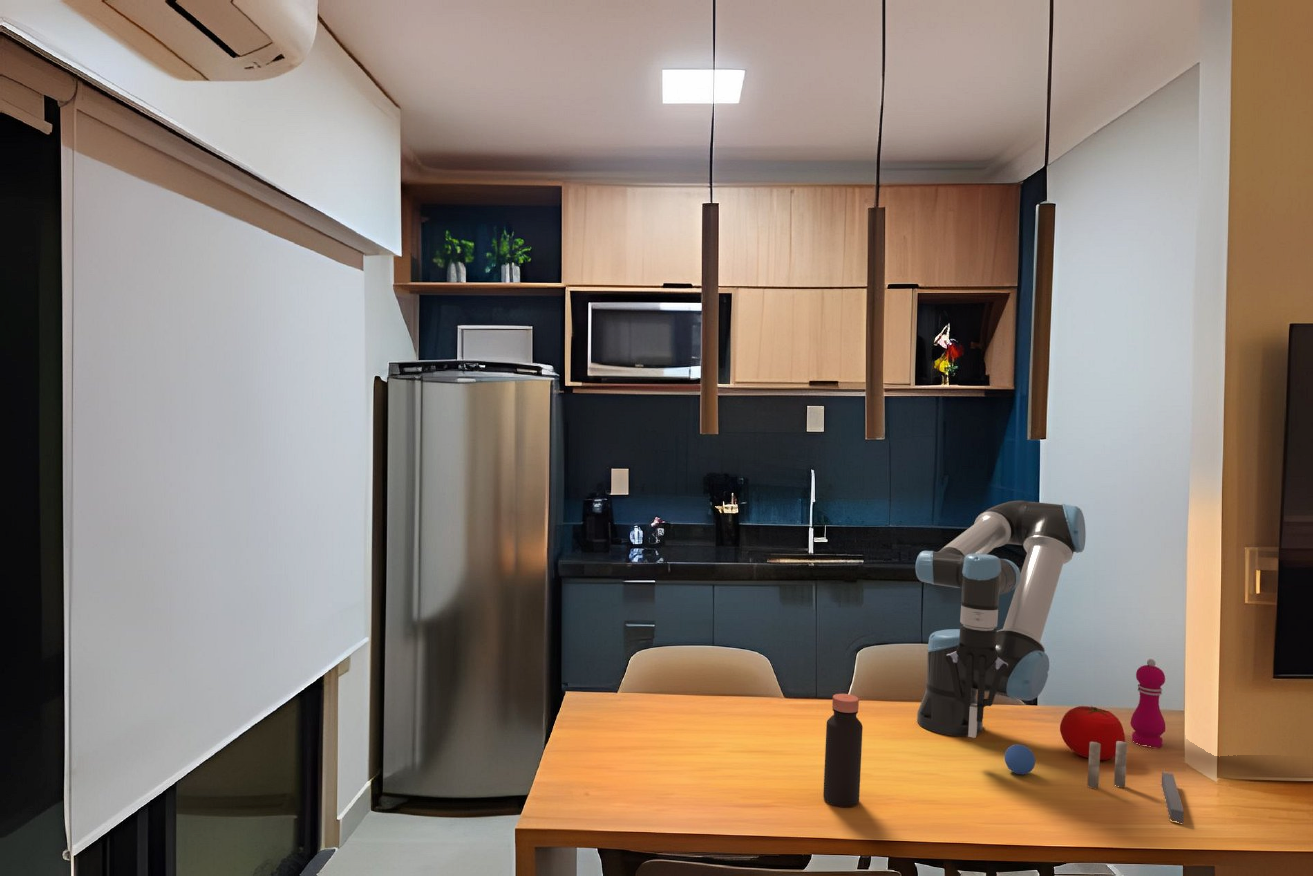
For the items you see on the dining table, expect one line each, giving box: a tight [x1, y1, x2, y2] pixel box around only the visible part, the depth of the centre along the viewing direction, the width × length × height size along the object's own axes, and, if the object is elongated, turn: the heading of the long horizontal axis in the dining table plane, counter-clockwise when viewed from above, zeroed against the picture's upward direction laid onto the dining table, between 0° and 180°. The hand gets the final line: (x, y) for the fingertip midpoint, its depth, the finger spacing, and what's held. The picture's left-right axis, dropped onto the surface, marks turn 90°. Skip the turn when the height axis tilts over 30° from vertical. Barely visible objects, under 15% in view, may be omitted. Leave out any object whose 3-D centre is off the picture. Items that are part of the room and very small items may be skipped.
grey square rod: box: [1160, 771, 1185, 824], centre depth 174 cm, size 2×20×2 cm, turn 154°
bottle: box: [822, 693, 864, 808], centre depth 169 cm, size 7×7×20 cm
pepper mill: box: [1130, 658, 1166, 748], centre depth 207 cm, size 7×7×20 cm
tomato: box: [1059, 705, 1126, 761], centre depth 198 cm, size 12×13×11 cm
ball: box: [1004, 744, 1036, 776], centre depth 186 cm, size 6×6×6 cm
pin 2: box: [1113, 741, 1128, 788], centre depth 182 cm, size 2×2×9 cm
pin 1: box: [1086, 742, 1101, 789], centre depth 181 cm, size 2×2×9 cm
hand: (972, 735), depth 190 cm, fingers closed
